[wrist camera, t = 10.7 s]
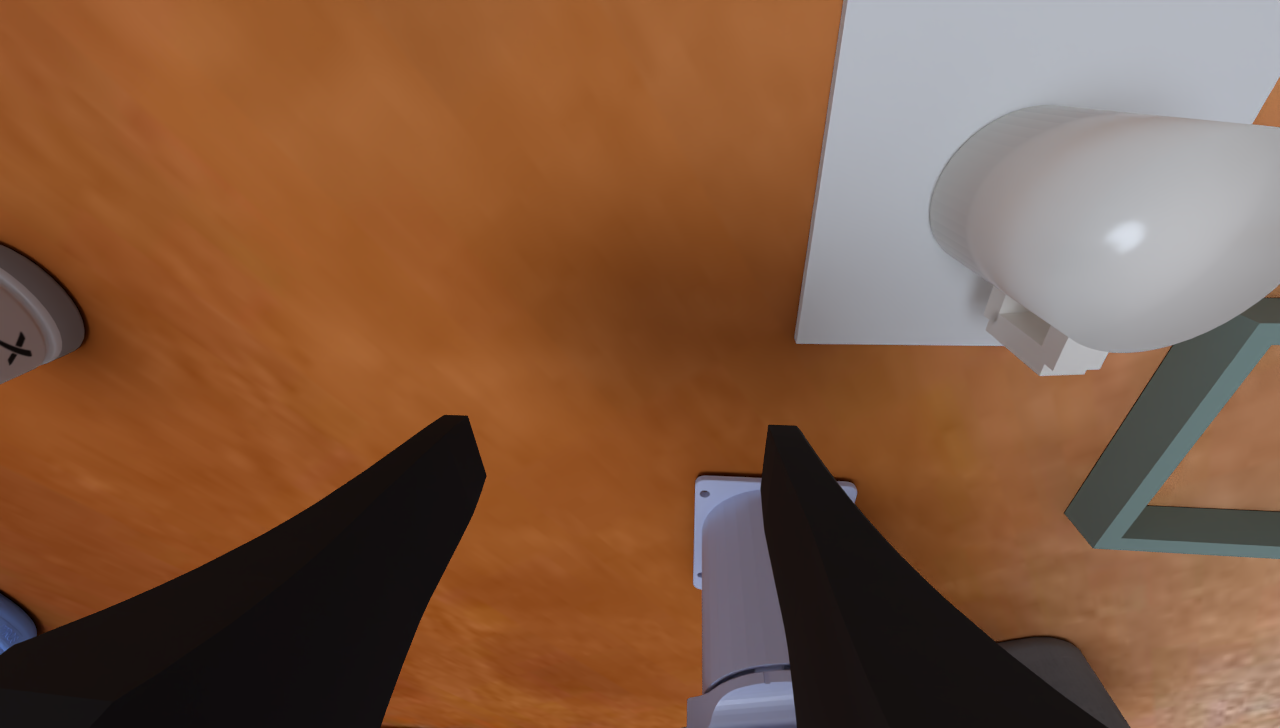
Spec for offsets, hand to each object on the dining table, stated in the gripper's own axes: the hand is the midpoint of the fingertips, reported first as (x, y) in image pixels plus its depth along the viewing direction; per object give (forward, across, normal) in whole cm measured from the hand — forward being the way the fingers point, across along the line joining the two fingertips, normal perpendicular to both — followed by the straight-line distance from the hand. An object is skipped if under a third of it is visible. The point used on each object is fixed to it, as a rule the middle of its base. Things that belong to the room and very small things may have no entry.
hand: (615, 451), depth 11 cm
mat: (+9, -12, -4) cm, 16 cm away
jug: (+9, -12, -4) cm, 15 cm away
